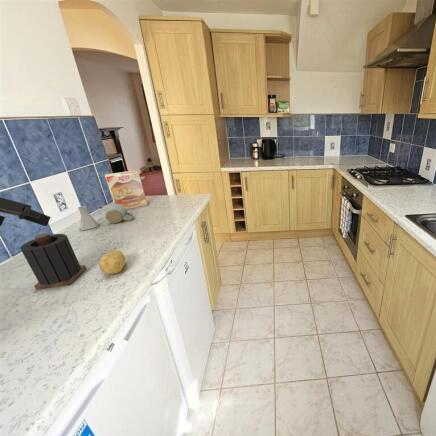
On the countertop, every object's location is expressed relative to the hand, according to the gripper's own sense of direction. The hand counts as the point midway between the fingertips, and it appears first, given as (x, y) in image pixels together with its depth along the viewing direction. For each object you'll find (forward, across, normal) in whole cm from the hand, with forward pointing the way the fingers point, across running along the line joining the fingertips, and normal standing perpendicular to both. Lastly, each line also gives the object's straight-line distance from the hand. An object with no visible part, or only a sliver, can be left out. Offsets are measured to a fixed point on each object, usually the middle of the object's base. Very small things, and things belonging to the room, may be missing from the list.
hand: (24, 221), depth 67 cm
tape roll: (+15, 0, -12) cm, 20 cm away
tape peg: (+16, 0, -13) cm, 21 cm away
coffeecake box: (+63, -22, +32) cm, 74 cm away
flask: (+44, -24, +14) cm, 51 cm away
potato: (+20, +14, -10) cm, 26 cm away
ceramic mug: (+49, -14, +19) cm, 54 cm away
